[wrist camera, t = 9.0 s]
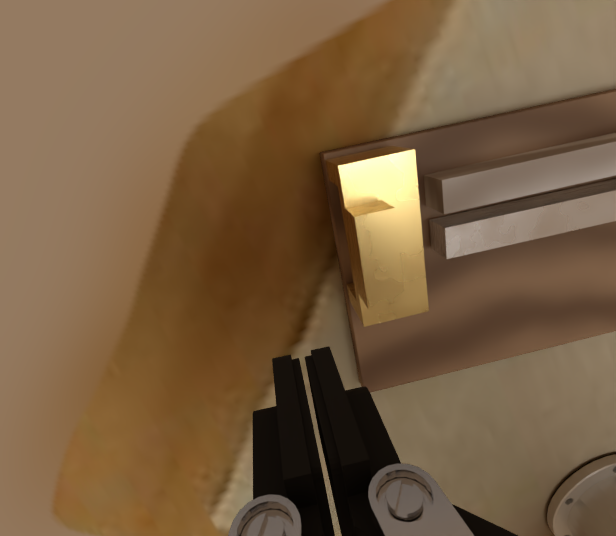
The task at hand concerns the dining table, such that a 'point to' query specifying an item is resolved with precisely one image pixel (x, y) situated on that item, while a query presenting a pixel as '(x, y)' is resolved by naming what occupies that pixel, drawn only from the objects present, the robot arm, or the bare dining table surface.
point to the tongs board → (499, 261)
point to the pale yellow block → (382, 232)
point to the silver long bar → (524, 219)
